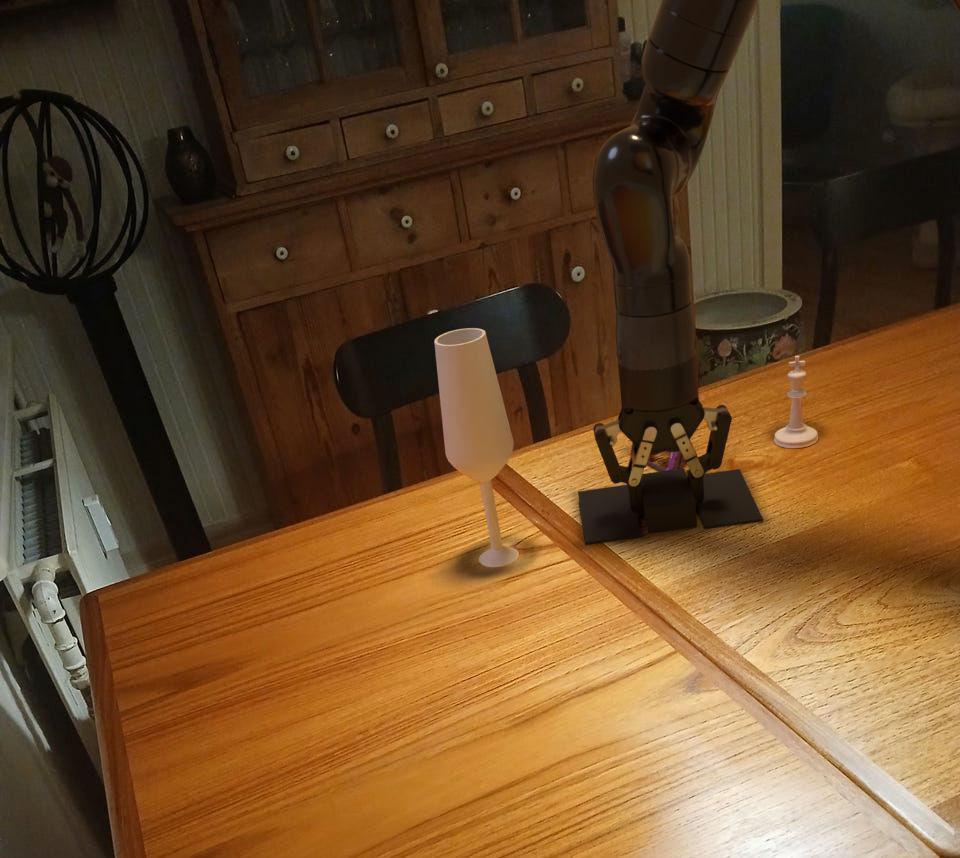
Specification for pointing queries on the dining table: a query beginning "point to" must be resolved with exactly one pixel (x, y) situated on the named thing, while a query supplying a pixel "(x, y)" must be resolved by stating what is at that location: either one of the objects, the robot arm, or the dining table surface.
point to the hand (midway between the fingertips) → (666, 509)
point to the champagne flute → (475, 422)
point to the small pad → (668, 501)
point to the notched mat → (616, 521)
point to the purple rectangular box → (671, 461)
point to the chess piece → (796, 414)
